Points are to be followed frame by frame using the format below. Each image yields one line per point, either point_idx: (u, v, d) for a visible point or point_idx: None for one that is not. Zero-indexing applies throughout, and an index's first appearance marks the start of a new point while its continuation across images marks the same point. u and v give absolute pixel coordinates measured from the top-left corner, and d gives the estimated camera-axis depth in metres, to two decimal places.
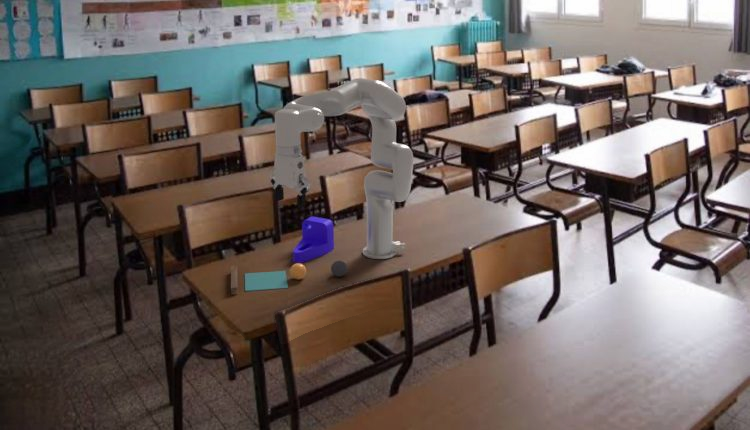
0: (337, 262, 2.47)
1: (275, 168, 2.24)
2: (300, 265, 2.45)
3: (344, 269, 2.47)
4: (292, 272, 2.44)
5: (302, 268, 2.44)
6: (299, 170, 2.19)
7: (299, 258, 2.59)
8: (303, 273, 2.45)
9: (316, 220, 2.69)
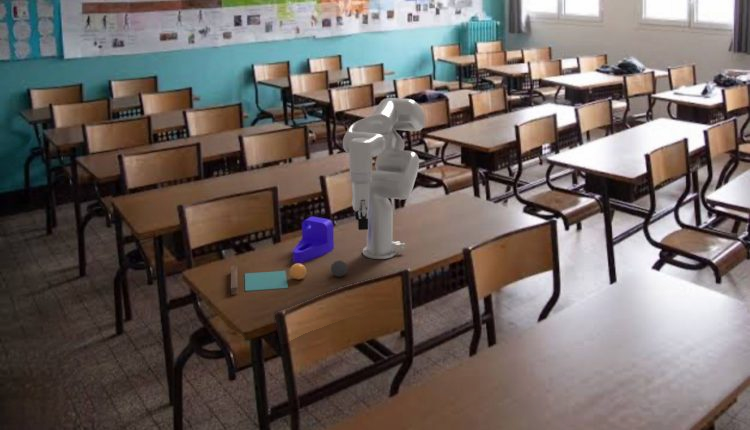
0: (337, 262, 2.47)
1: (369, 196, 2.37)
2: (300, 265, 2.45)
3: (344, 269, 2.47)
4: (292, 272, 2.44)
5: (302, 268, 2.44)
6: None
7: (299, 258, 2.59)
8: (303, 273, 2.45)
9: (316, 220, 2.69)
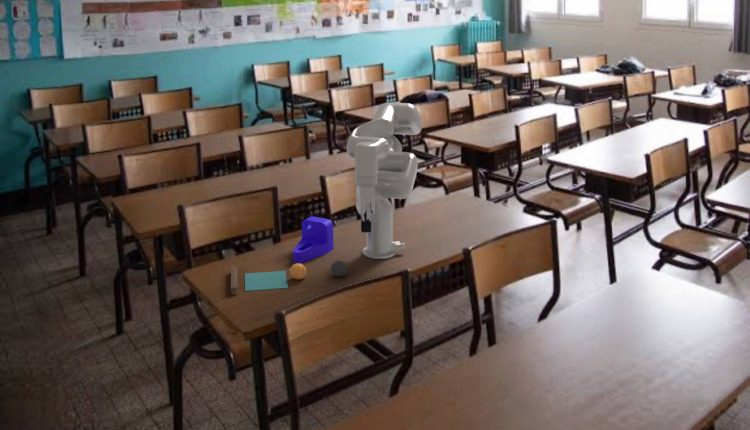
0: (337, 262, 2.47)
1: (374, 199, 2.39)
2: (300, 265, 2.45)
3: (344, 269, 2.47)
4: (292, 272, 2.44)
5: (302, 268, 2.44)
6: None
7: (299, 258, 2.59)
8: (303, 273, 2.45)
9: (316, 220, 2.69)
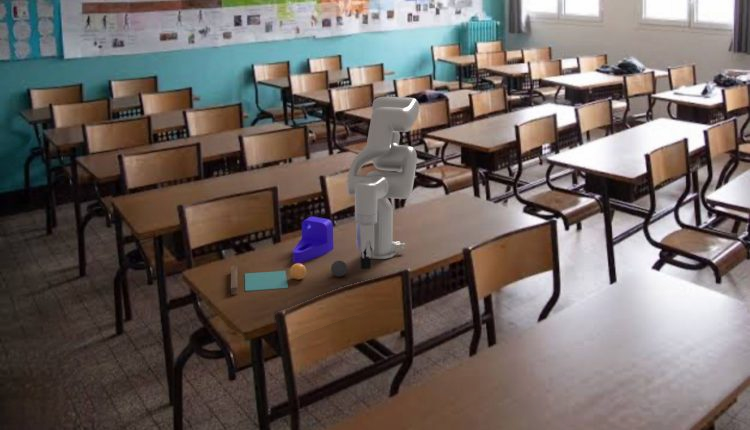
0: (337, 262, 2.47)
1: (374, 237, 2.43)
2: (300, 265, 2.45)
3: (344, 269, 2.47)
4: (292, 272, 2.44)
5: (302, 268, 2.44)
6: None
7: (299, 258, 2.59)
8: (303, 273, 2.45)
9: (316, 220, 2.69)
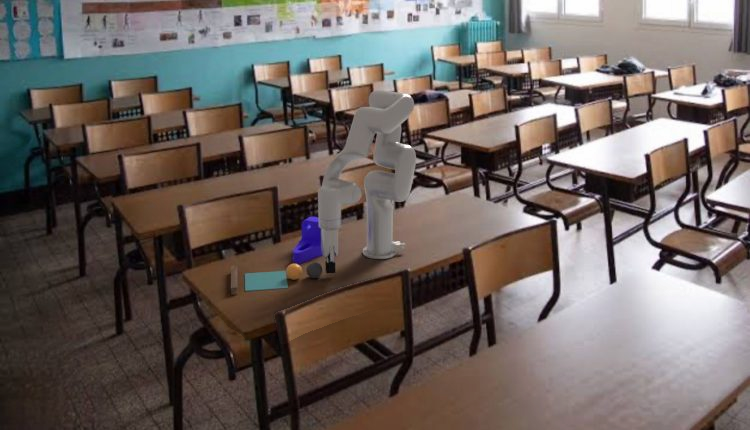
0: None
1: (337, 242, 2.41)
2: (293, 265, 2.44)
3: (310, 272, 2.45)
4: (288, 275, 2.44)
5: (295, 268, 2.44)
6: None
7: (299, 258, 2.59)
8: (298, 271, 2.44)
9: (315, 220, 2.69)
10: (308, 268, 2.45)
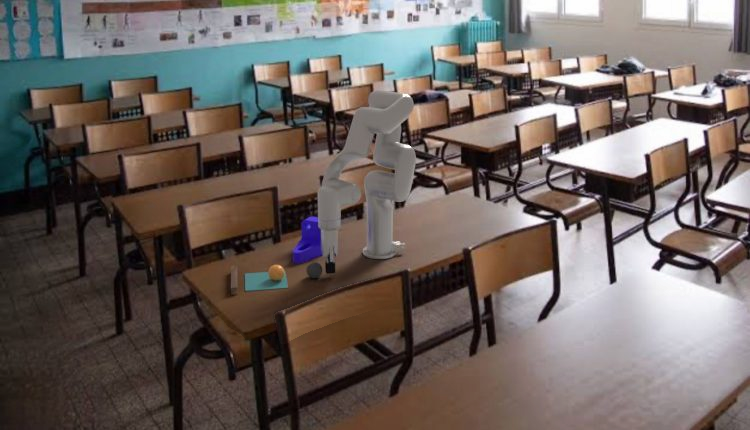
0: None
1: (337, 242, 2.41)
2: None
3: (310, 272, 2.45)
4: (281, 278, 2.44)
5: (271, 277, 2.43)
6: None
7: (299, 258, 2.59)
8: (272, 273, 2.43)
9: (315, 220, 2.69)
10: (308, 268, 2.45)
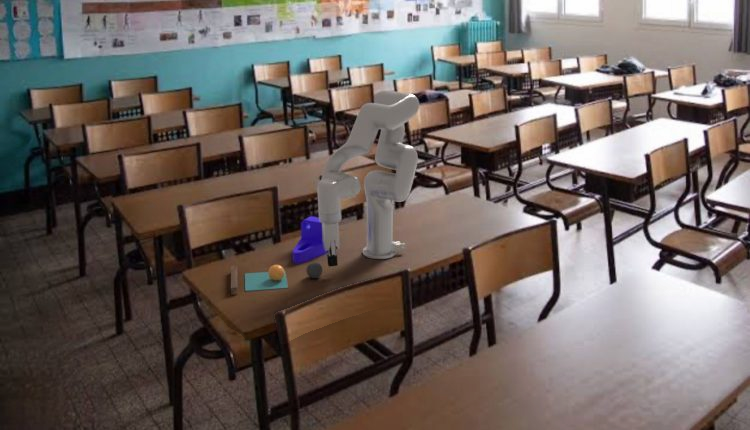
0: None
1: (338, 235, 2.41)
2: None
3: (310, 272, 2.45)
4: (281, 278, 2.44)
5: (271, 277, 2.43)
6: None
7: (299, 258, 2.59)
8: (272, 273, 2.43)
9: (315, 220, 2.69)
10: (308, 268, 2.45)
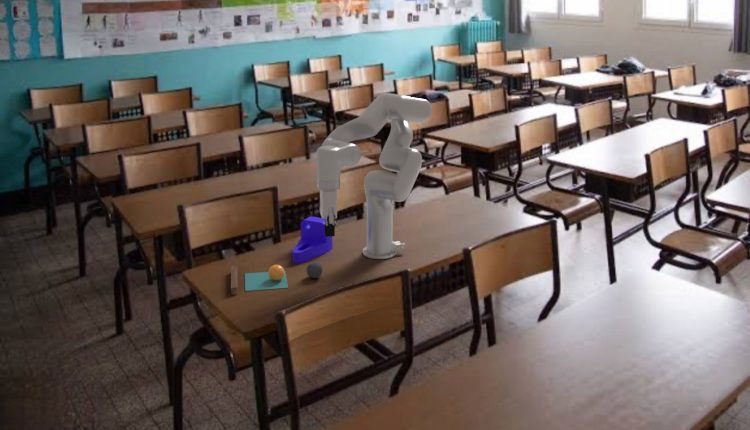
0: None
1: None
2: None
3: (310, 272, 2.45)
4: (281, 278, 2.44)
5: (271, 277, 2.43)
6: None
7: (299, 258, 2.59)
8: (272, 273, 2.43)
9: (315, 220, 2.69)
10: (308, 268, 2.45)
